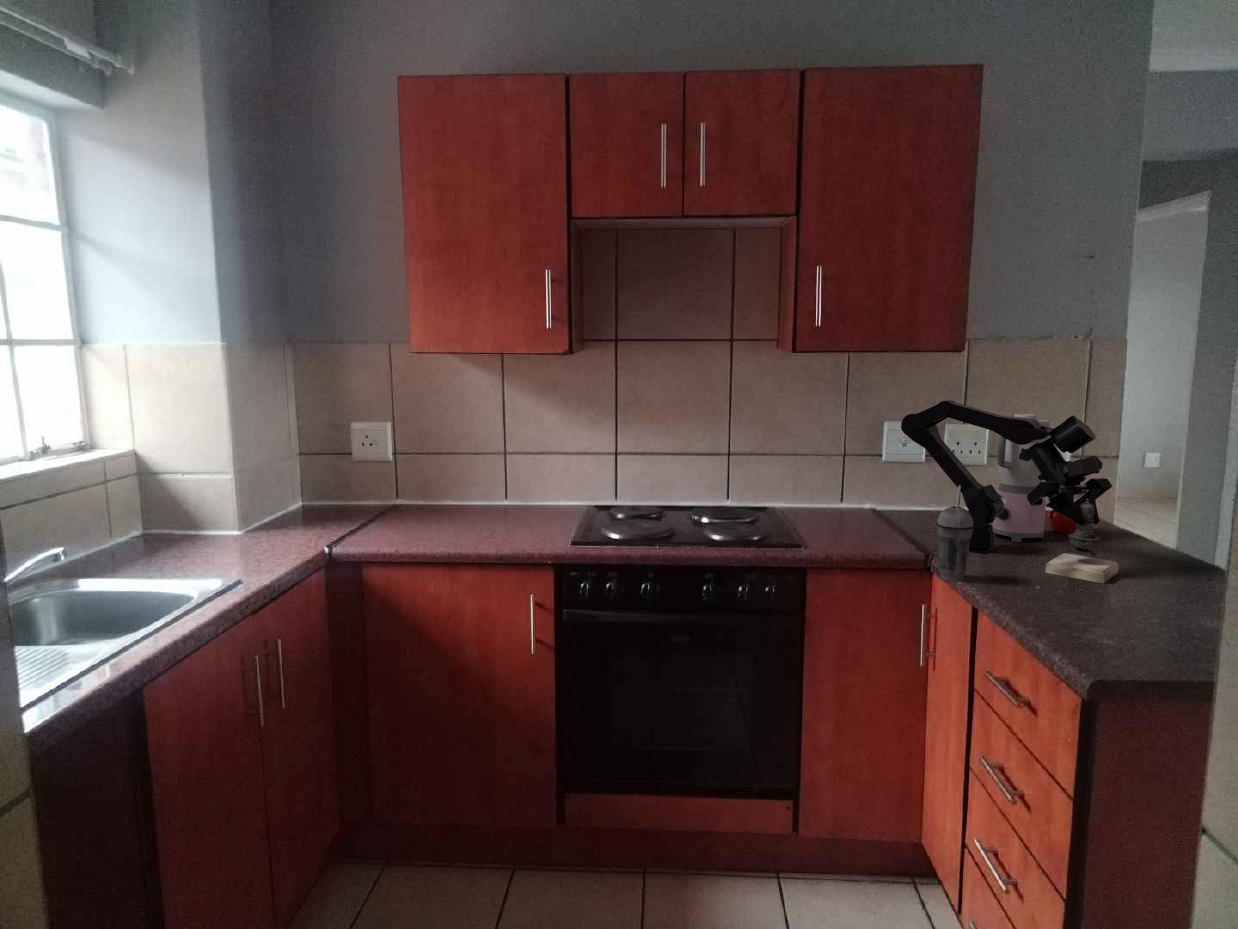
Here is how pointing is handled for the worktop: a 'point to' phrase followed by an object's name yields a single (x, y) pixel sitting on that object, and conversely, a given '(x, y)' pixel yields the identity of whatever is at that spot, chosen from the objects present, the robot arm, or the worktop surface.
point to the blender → (1018, 491)
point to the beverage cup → (954, 540)
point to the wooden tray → (1082, 567)
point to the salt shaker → (1084, 532)
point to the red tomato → (1061, 523)
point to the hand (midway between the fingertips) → (1090, 524)
